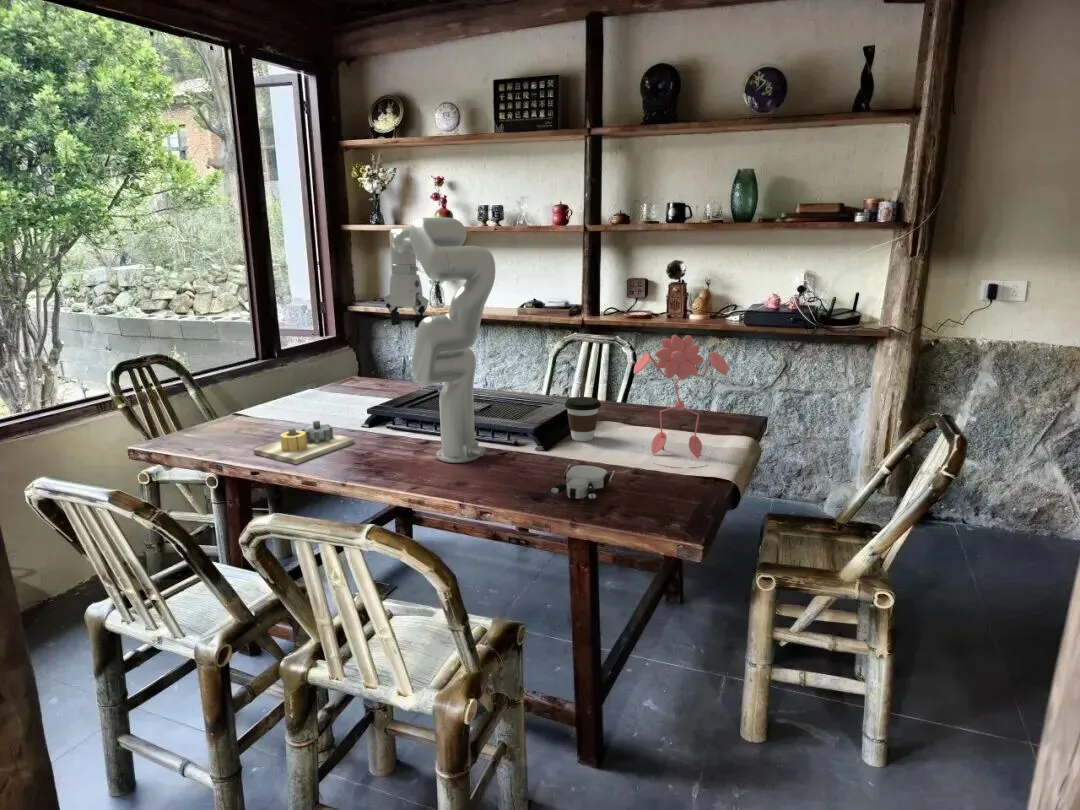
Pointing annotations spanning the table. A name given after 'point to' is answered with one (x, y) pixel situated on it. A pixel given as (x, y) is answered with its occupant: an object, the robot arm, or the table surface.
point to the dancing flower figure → (680, 362)
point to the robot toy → (583, 481)
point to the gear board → (317, 444)
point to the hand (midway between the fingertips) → (407, 325)
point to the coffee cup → (582, 417)
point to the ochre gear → (293, 441)
